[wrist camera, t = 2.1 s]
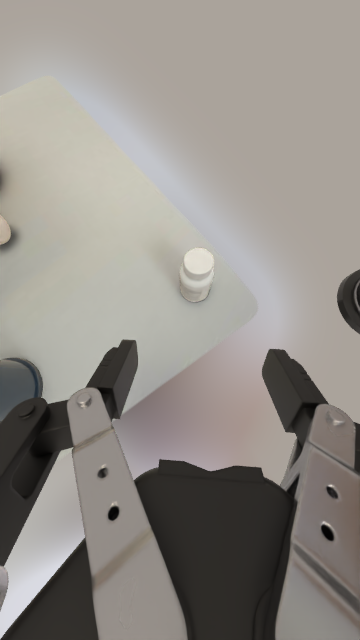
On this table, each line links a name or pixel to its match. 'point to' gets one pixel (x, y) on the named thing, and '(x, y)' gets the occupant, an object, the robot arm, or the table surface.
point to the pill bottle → (196, 274)
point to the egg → (4, 231)
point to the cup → (17, 383)
